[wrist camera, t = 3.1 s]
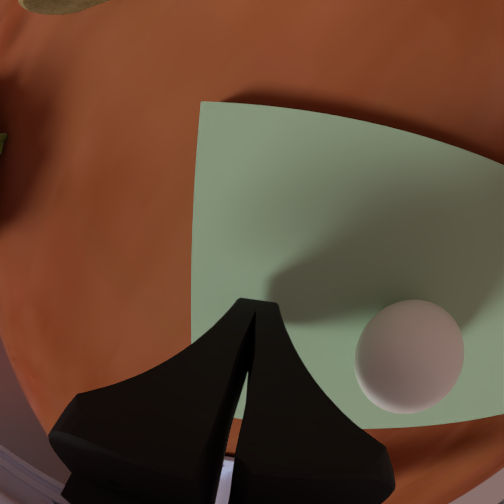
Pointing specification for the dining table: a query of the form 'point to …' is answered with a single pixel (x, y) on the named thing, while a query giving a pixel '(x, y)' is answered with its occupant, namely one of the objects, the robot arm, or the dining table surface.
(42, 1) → the gavel
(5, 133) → the passion flower
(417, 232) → the putting mat
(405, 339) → the ball
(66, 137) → the dining table surface
